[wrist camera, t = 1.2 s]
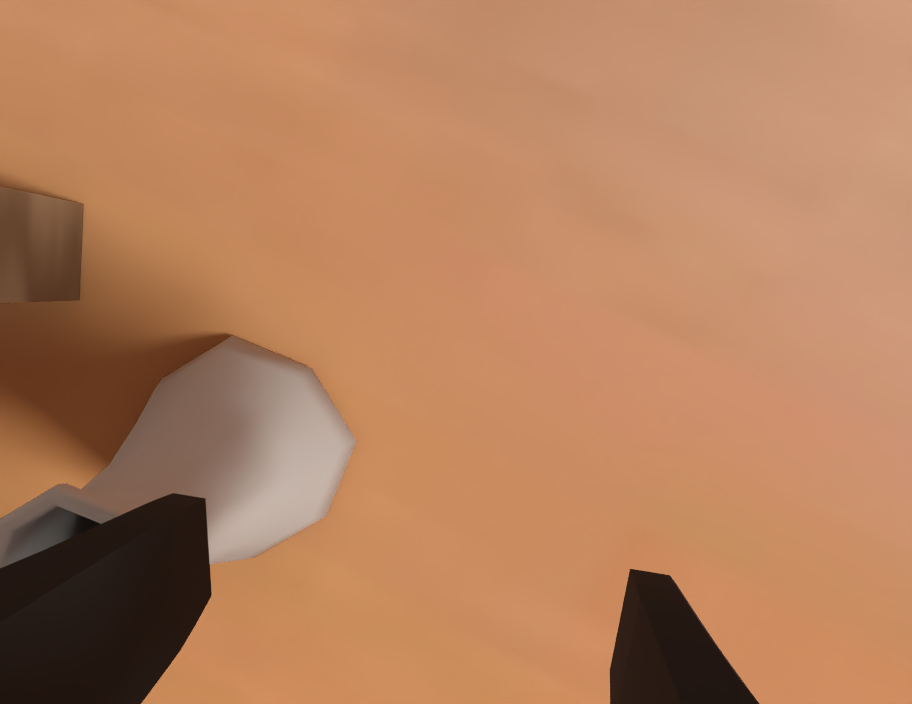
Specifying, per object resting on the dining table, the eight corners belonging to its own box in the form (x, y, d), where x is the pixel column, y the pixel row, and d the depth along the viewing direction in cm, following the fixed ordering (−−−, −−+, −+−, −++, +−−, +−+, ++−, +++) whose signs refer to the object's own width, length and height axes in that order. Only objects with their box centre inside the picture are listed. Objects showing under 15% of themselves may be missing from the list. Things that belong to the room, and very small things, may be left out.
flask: (101, 455, 22) (-201, 591, 12) (231, 296, 22) (24, 304, 12) (262, 588, 23) (95, 826, 13) (395, 436, 22) (329, 561, 12)
